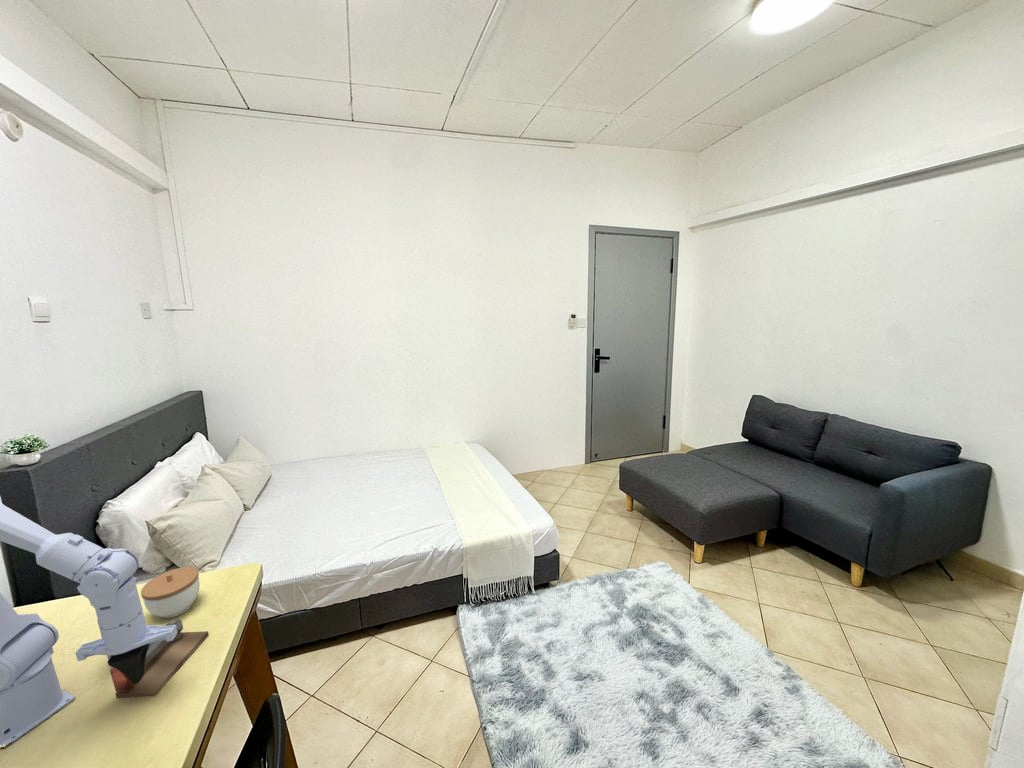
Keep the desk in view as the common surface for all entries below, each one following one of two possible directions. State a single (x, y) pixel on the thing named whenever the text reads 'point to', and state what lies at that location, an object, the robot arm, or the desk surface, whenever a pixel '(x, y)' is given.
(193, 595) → the lidded jar
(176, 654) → the press base
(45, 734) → the desk surface
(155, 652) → the lever
